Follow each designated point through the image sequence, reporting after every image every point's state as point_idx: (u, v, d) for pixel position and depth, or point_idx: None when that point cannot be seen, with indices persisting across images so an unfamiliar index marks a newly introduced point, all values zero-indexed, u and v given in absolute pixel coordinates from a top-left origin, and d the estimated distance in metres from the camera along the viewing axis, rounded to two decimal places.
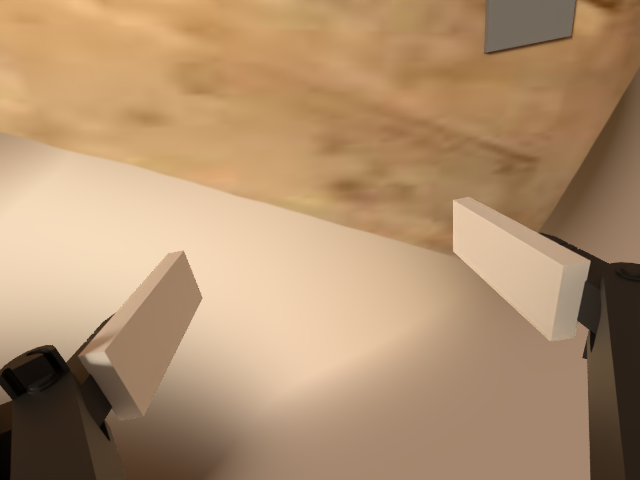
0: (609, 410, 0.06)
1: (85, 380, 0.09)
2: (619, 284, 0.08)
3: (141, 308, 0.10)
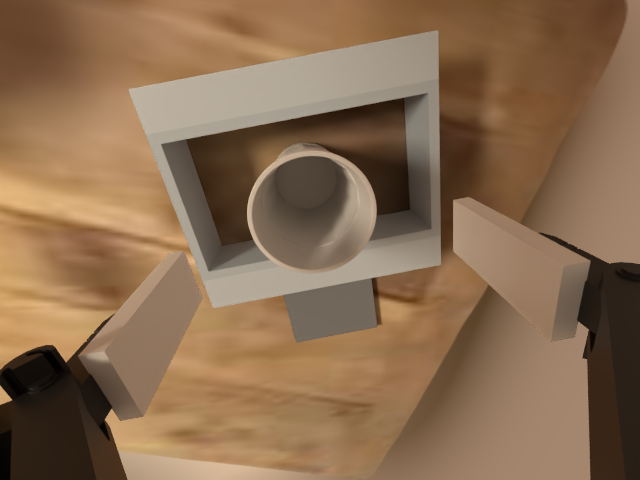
0: (609, 410, 0.06)
1: (85, 380, 0.09)
2: (619, 284, 0.08)
3: (141, 308, 0.10)
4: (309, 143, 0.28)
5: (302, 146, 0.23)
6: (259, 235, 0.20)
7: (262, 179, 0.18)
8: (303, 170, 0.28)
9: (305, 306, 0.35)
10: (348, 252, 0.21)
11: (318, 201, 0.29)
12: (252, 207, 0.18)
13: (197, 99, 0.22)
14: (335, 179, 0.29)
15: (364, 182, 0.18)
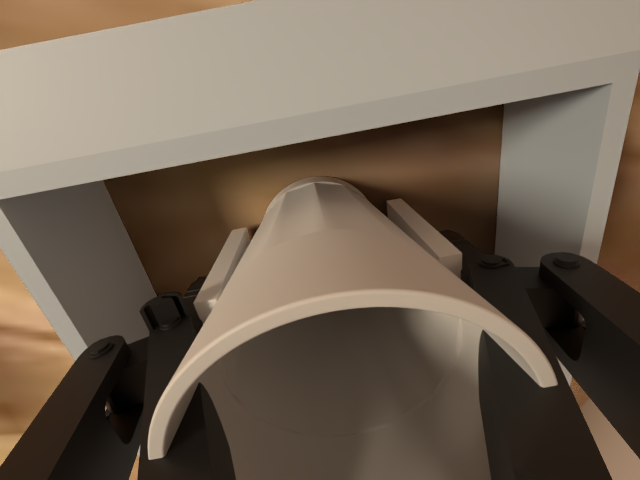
0: (490, 390, 0.06)
1: (198, 324, 0.10)
2: (482, 274, 0.09)
3: (230, 270, 0.12)
4: (327, 180, 0.15)
5: (319, 203, 0.10)
6: None
7: (188, 382, 0.05)
8: None
9: None
10: None
11: None
12: (165, 447, 0.06)
13: (66, 98, 0.09)
14: None
15: (539, 374, 0.05)
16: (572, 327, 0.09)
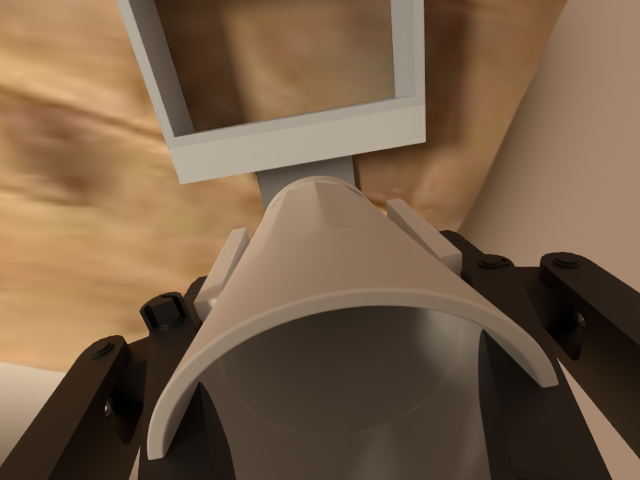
0: (490, 390, 0.06)
1: (198, 324, 0.10)
2: (481, 274, 0.09)
3: (230, 270, 0.12)
4: (327, 180, 0.15)
5: (318, 202, 0.10)
6: None
7: (188, 380, 0.05)
8: None
9: None
10: None
11: None
12: (165, 447, 0.06)
13: None
14: None
15: (540, 373, 0.05)
16: (572, 327, 0.09)
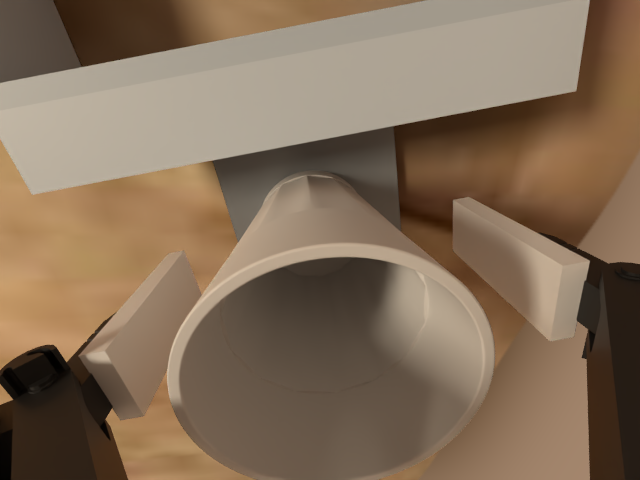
0: (609, 410, 0.06)
1: (86, 380, 0.09)
2: (618, 284, 0.08)
3: (142, 308, 0.11)
4: (319, 174, 0.16)
5: (308, 191, 0.12)
6: (208, 416, 0.08)
7: (200, 317, 0.06)
8: None
9: None
10: (410, 439, 0.09)
11: (333, 265, 0.18)
12: (181, 375, 0.07)
13: None
14: None
15: (474, 315, 0.07)
16: None
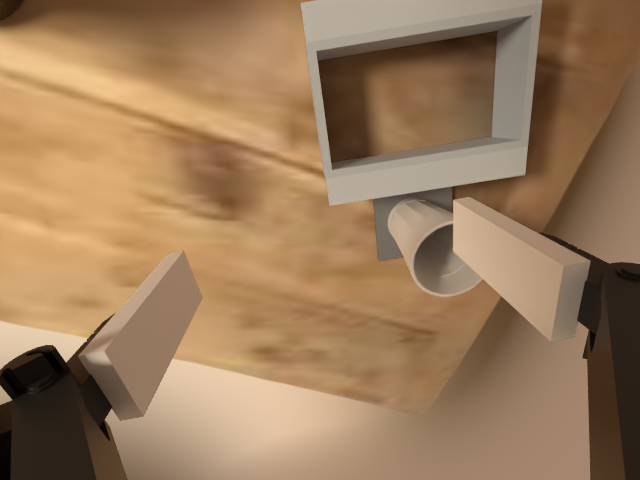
0: (609, 410, 0.06)
1: (85, 380, 0.09)
2: (619, 284, 0.08)
3: (141, 308, 0.10)
4: (420, 199, 0.38)
5: (429, 207, 0.33)
6: None
7: (426, 236, 0.28)
8: None
9: None
10: (468, 283, 0.31)
11: (421, 240, 0.40)
12: (415, 253, 0.29)
13: (351, 13, 0.27)
14: None
15: None
16: None
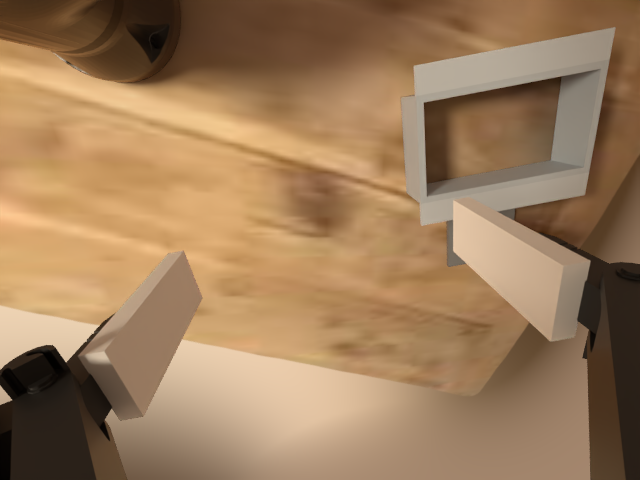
0: (609, 410, 0.06)
1: (85, 380, 0.09)
2: (619, 284, 0.08)
3: (141, 308, 0.10)
4: None
5: None
6: None
7: None
8: None
9: None
10: None
11: None
12: None
13: (455, 72, 0.33)
14: None
15: None
16: None
